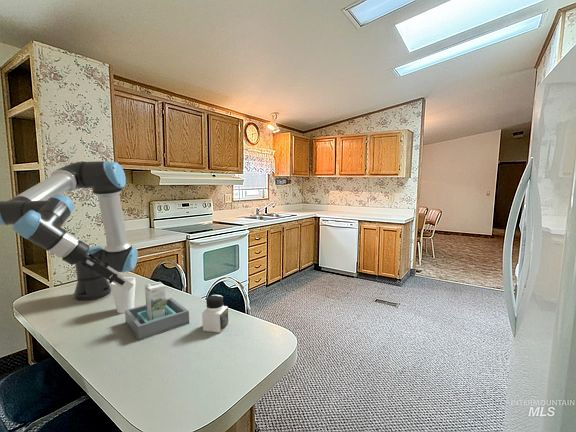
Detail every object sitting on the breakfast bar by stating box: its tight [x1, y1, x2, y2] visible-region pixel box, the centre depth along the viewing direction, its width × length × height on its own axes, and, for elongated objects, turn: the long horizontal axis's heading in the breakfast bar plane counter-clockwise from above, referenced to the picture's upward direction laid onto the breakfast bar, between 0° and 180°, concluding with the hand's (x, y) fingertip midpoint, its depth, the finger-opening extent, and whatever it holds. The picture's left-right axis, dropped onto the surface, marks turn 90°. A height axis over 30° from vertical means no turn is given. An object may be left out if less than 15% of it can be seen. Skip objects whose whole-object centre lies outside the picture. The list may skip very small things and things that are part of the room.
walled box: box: [124, 297, 190, 341], centre depth 116 cm, size 18×18×5 cm
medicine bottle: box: [201, 294, 229, 334], centre depth 111 cm, size 7×7×12 cm
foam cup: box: [109, 276, 137, 314], centre depth 128 cm, size 10×9×13 cm
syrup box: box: [144, 281, 167, 321], centre depth 115 cm, size 6×6×14 cm
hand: (125, 283), depth 107 cm, fingers open, 13 cm apart
